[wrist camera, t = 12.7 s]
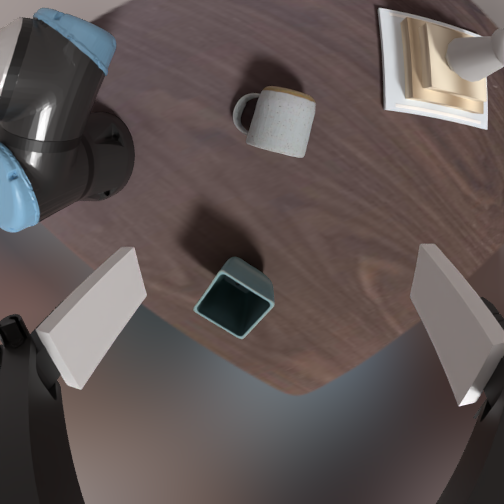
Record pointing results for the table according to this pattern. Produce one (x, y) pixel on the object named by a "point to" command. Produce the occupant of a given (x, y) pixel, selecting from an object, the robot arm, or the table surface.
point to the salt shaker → (476, 55)
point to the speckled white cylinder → (278, 120)
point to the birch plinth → (416, 72)
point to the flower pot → (237, 298)
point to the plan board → (396, 74)
